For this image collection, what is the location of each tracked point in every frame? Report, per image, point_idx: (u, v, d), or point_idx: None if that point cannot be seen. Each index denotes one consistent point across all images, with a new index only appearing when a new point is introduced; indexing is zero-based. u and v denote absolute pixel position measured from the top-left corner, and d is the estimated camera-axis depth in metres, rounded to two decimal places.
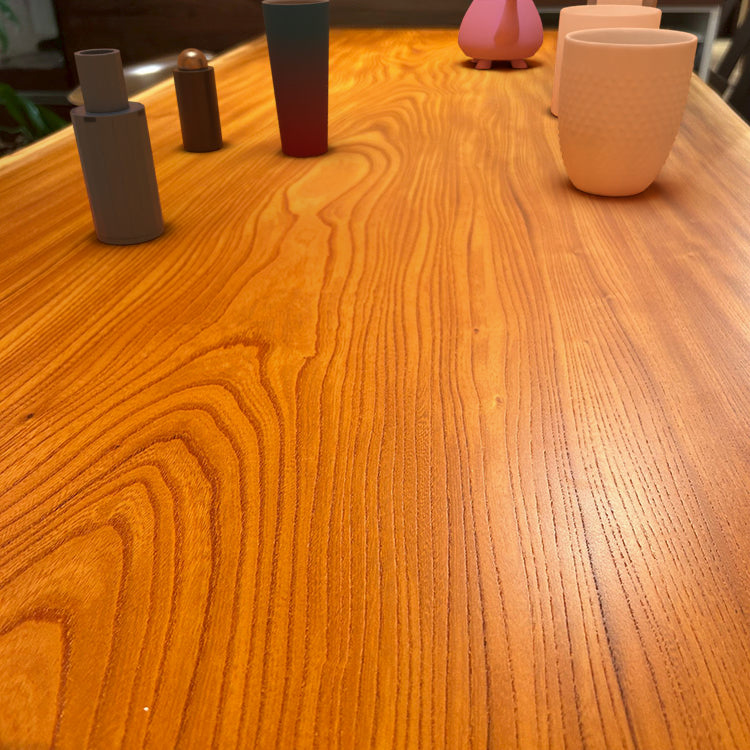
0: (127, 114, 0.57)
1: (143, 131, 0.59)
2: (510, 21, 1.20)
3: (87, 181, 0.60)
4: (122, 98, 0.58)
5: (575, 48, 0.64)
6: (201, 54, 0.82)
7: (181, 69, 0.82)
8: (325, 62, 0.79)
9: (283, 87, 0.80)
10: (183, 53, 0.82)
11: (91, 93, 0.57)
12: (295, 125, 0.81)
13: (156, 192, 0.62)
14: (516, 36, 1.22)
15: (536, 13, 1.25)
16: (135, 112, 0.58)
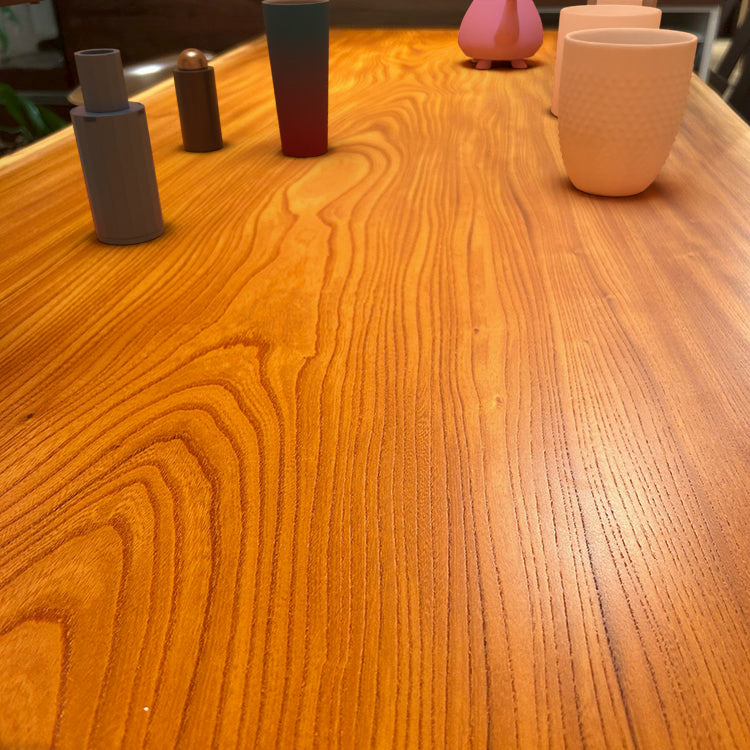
0: (127, 114, 0.57)
1: (143, 131, 0.59)
2: (510, 21, 1.20)
3: (87, 181, 0.60)
4: (122, 98, 0.58)
5: (575, 48, 0.64)
6: (201, 54, 0.82)
7: (181, 69, 0.82)
8: (325, 62, 0.79)
9: (283, 87, 0.80)
10: (183, 53, 0.82)
11: (91, 93, 0.57)
12: (295, 125, 0.81)
13: (156, 192, 0.62)
14: (516, 36, 1.22)
15: (536, 13, 1.25)
16: (135, 112, 0.58)
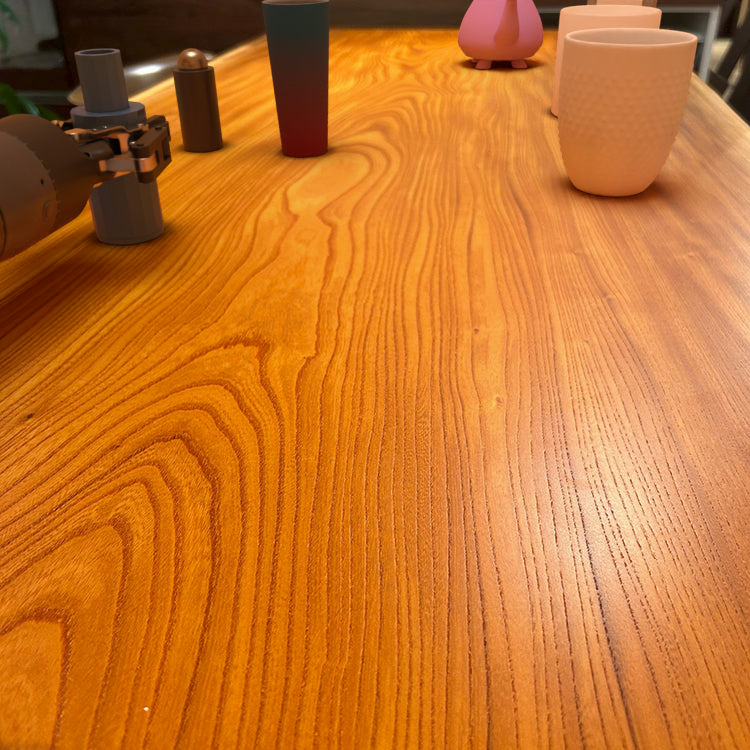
0: (127, 114, 0.57)
1: None
2: (510, 21, 1.20)
3: None
4: (122, 98, 0.58)
5: (575, 48, 0.64)
6: (201, 54, 0.82)
7: (181, 69, 0.82)
8: (325, 62, 0.79)
9: (283, 87, 0.80)
10: (183, 53, 0.82)
11: (91, 93, 0.57)
12: (295, 125, 0.81)
13: (156, 192, 0.62)
14: (516, 36, 1.22)
15: (536, 13, 1.25)
16: (135, 112, 0.58)
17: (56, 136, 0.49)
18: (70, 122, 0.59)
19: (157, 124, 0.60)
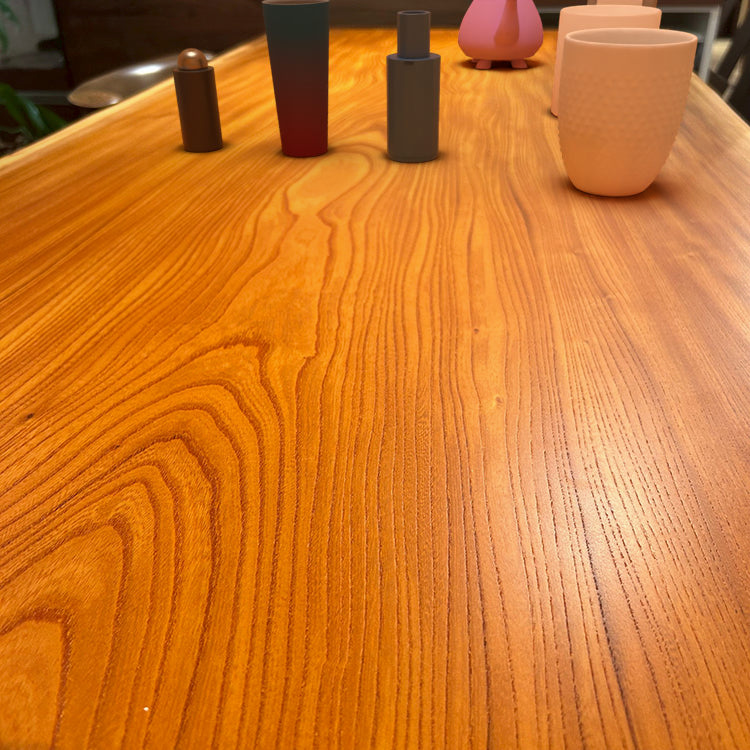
0: (434, 59, 0.76)
1: (439, 73, 0.78)
2: (510, 21, 1.20)
3: (394, 112, 0.79)
4: (428, 48, 0.77)
5: (575, 48, 0.64)
6: (201, 54, 0.82)
7: (181, 69, 0.82)
8: (325, 62, 0.79)
9: (283, 87, 0.80)
10: (183, 53, 0.82)
11: (409, 43, 0.76)
12: (295, 125, 0.81)
13: (438, 122, 0.81)
14: (516, 36, 1.22)
15: (536, 13, 1.25)
16: (438, 58, 0.77)
17: None
18: None
19: None
